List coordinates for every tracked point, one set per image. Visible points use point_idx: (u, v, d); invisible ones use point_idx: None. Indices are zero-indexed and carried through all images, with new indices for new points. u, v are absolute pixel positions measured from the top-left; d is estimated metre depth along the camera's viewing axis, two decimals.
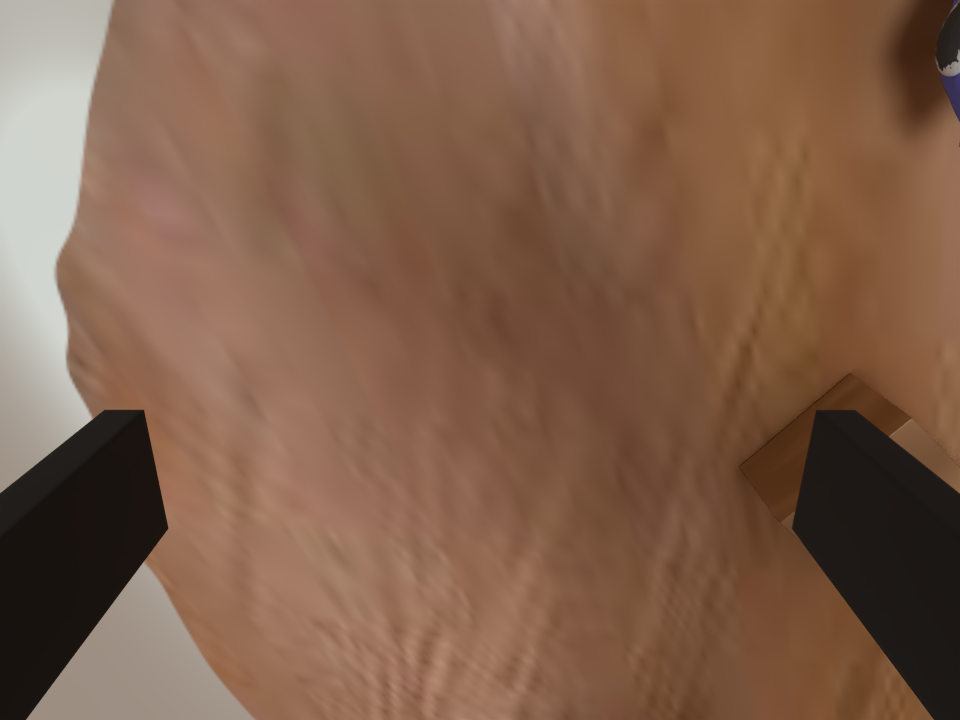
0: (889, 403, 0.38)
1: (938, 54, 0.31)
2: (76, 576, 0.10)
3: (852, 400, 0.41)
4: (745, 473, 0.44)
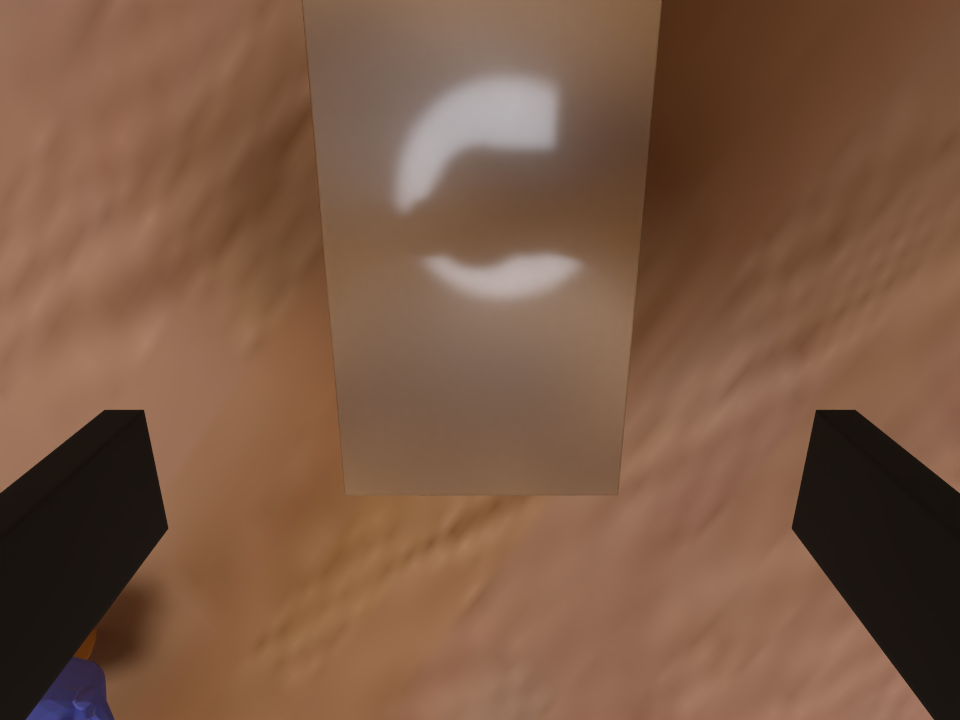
0: None
1: None
2: (76, 576, 0.10)
3: None
4: None
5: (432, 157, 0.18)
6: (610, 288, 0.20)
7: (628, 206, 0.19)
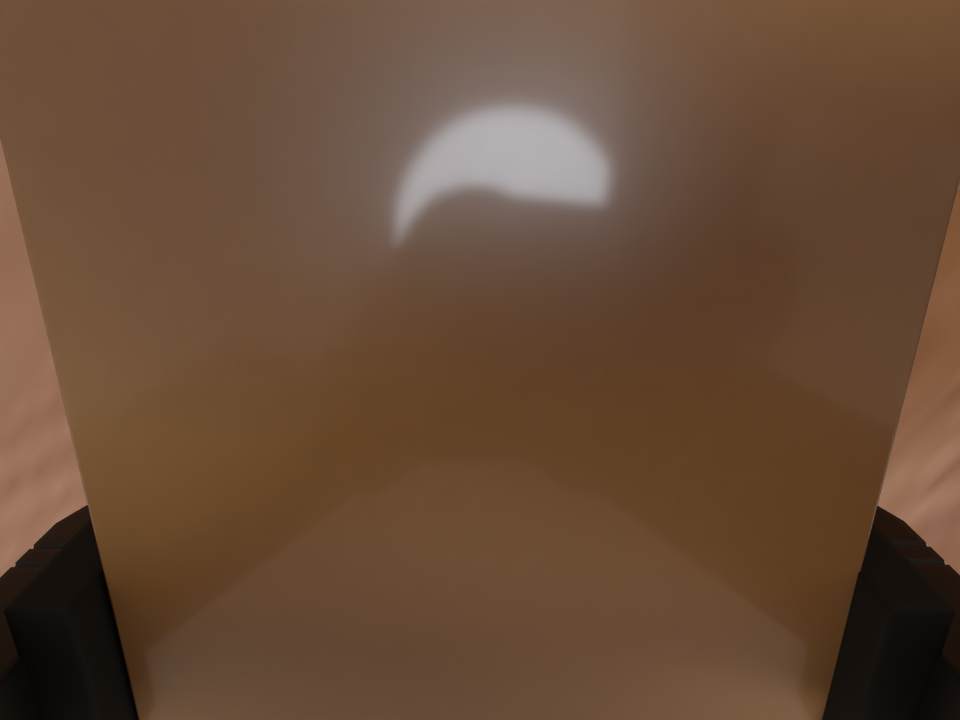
0: None
1: None
2: None
3: None
4: None
5: (350, 231, 0.07)
6: (804, 546, 0.08)
7: (874, 358, 0.07)
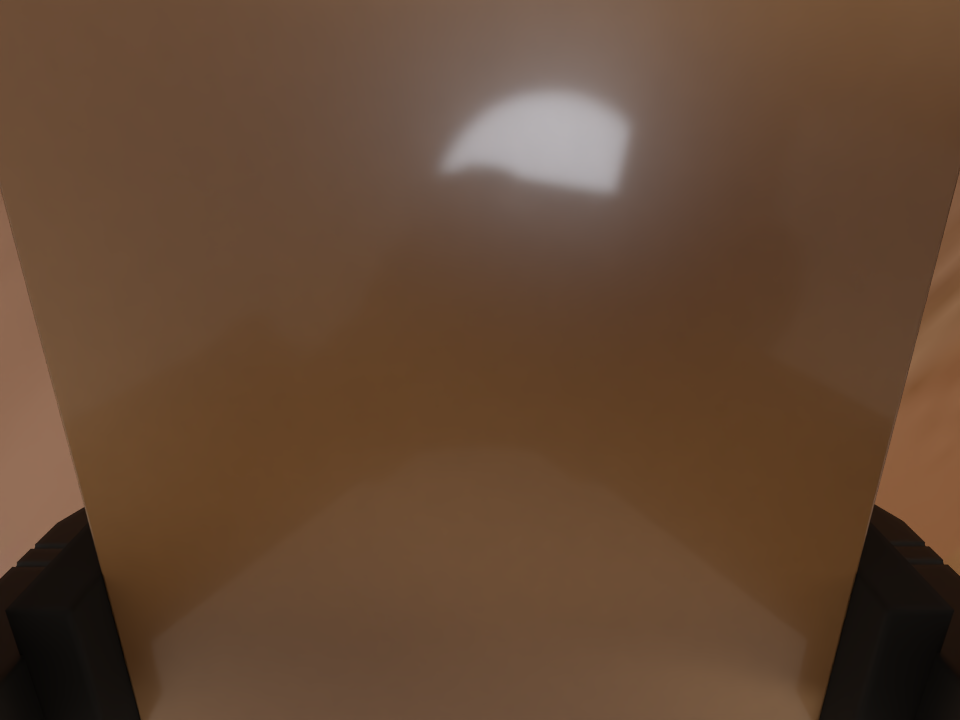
0: None
1: None
2: None
3: None
4: None
5: (340, 237, 0.07)
6: (799, 548, 0.08)
7: (870, 361, 0.07)
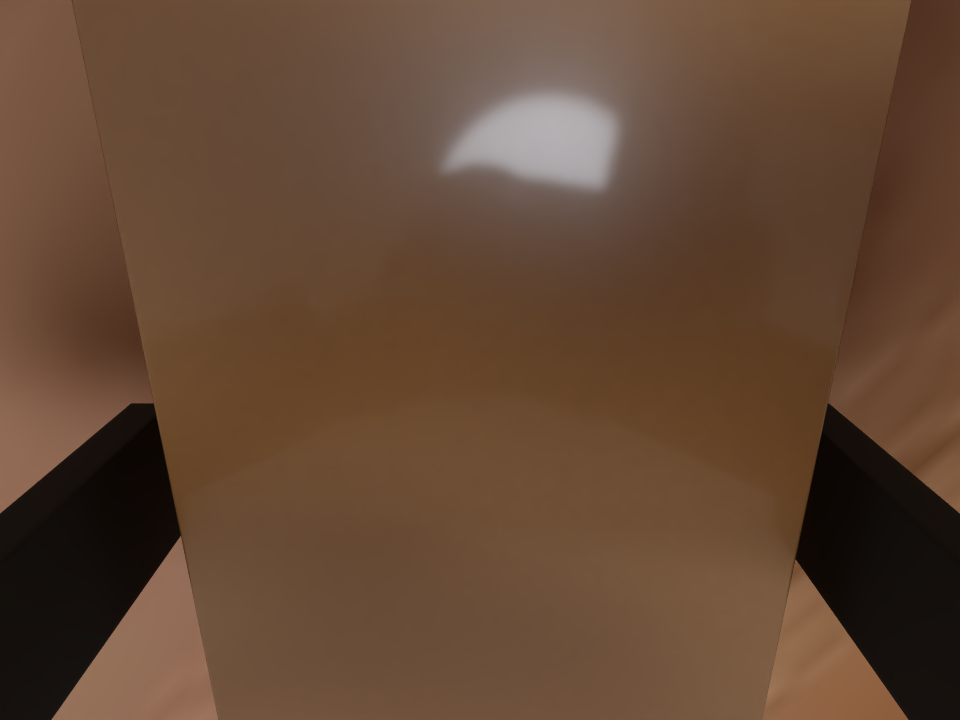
0: None
1: None
2: (108, 564, 0.11)
3: None
4: None
5: (380, 223, 0.08)
6: (757, 484, 0.09)
7: (811, 325, 0.09)
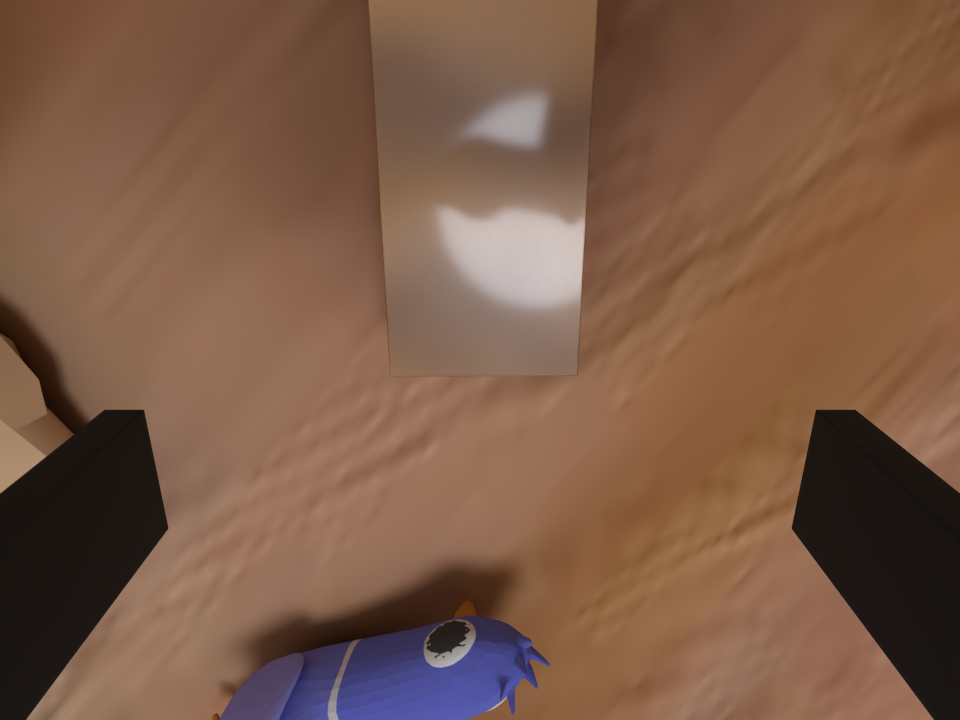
0: None
1: None
2: (76, 576, 0.10)
3: None
4: None
5: (451, 142, 0.28)
6: (568, 228, 0.30)
7: (578, 174, 0.29)
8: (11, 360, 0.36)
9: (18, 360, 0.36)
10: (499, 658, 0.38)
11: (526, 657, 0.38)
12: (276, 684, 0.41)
